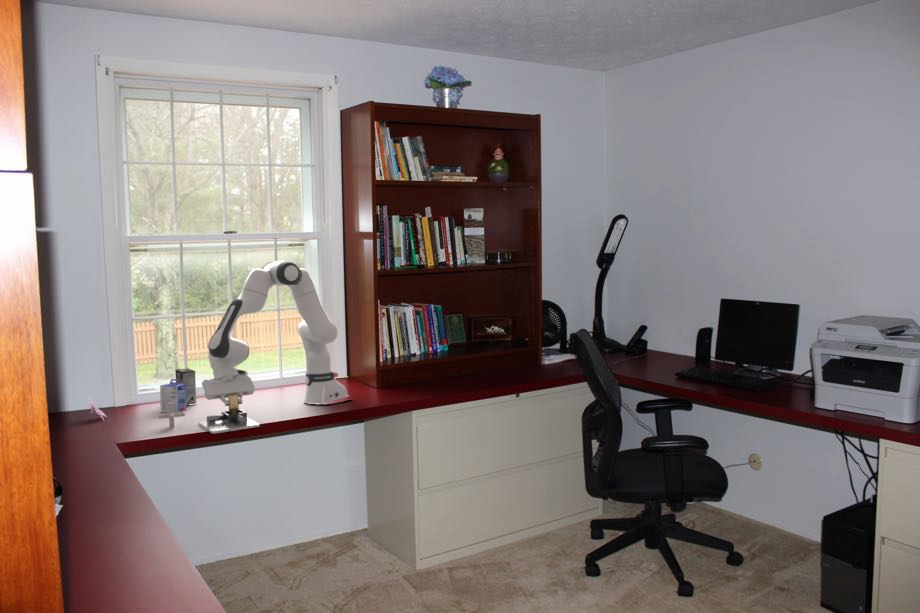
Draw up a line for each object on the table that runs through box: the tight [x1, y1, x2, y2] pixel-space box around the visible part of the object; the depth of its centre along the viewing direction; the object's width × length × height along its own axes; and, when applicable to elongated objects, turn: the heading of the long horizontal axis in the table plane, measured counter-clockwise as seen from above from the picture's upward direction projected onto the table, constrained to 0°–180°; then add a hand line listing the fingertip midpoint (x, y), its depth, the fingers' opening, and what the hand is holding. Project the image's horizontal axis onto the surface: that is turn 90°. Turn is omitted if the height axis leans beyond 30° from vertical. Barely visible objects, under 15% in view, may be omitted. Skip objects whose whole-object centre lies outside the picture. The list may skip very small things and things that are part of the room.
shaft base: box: [197, 408, 261, 435], centre depth 302 cm, size 19×19×4 cm
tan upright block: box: [227, 394, 240, 414], centre depth 306 cm, size 4×4×8 cm
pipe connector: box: [157, 403, 186, 429], centre depth 300 cm, size 10×10×10 cm
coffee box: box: [174, 368, 197, 405], centre depth 344 cm, size 9×6×16 cm
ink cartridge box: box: [159, 378, 187, 413], centre depth 328 cm, size 10×6×14 cm, turn 71°
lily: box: [85, 395, 107, 421], centre depth 314 cm, size 12×12×10 cm
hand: (234, 404), depth 306 cm, fingers closed on tan upright block, 4 cm apart
